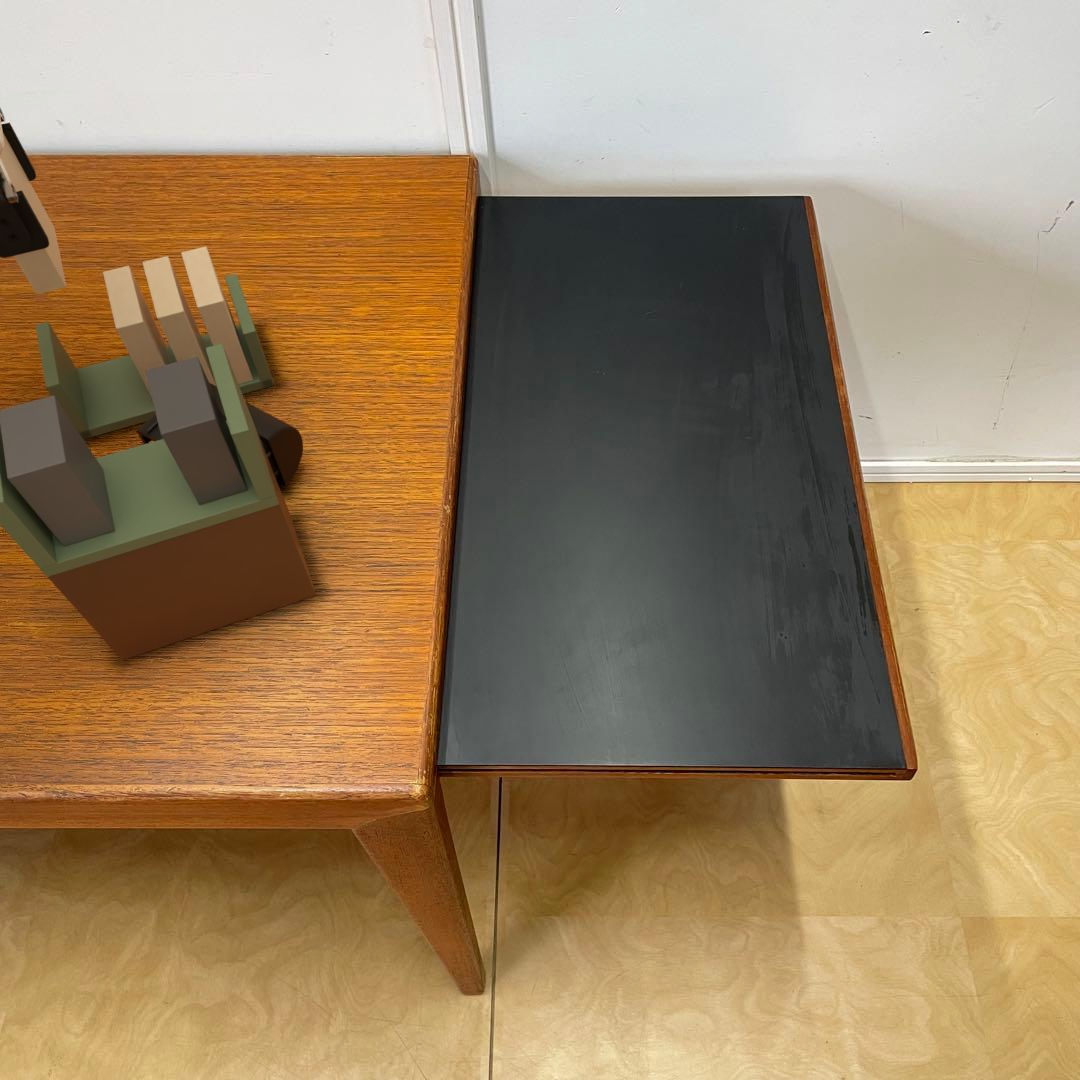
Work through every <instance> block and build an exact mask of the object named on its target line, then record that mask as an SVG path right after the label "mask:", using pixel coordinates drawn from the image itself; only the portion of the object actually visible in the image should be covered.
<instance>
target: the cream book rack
mask: <svg viewBox="0 0 1080 1080" xmlns="http://www.w3.org/2000/svg"><path fill="white" fill-rule="evenodd" d="M180 253H181V257H182V261H183V264H184V267H185V270H186V274H187V277H188V281H189V284H190V288H191V291H192V294H193V298H194V302H195V304H196V308H197V310H198V313H199V316H200V317H201V321H202V322H203V325H204V327H205V330H206V332H207V334H202V333H201V330H200V328H199V326H198V324H197V322H196V319H195V316H194V314H193V312H192V309H191V307H190V305H189V302H188V299H187V298H186V295H185V293H184V290H183V288H182V285H181V283H180V281H179V278H178V276H177V274H176V271H175V269H174V266H173V264H172V262H171V260H170V257H169V256H168V255H166V256H165V255H164V256H161V257H158V258H154V259H150V260H145V261H142V266H143V271H144V274H145V278H146V281H147V285H148V289H149V293H150V297H151V301H152V305H153V309H154V313H155V316H156V319H157V321H158V323H159V325H160V328H161V330H162V332H163V334H164V336H165V339H166V340H167V343H168V344H167V343H166V341H165V339H164V336H163V335H162V332H161V330H160V328H159V326H158V324H157V322H156V320H155V317H154V315H153V313H152V311H151V309H150V307H149V305H148V303H147V301H146V298H145V297H144V294H143V293H142V290H141V288H140V285H139V284H138V281H137V279H136V277H135V275H134V273H133V271H132V269H131V267H130V266H129V265H125V266H121V267H116V268H112V269H109V270H105V271H102V275H103V279H104V283H105V287H106V292H107V297H108V300H109V305H110V310H111V313H112V319H113V321H114V326H115V327H114V328H115V330H116V331H117V334H118V335H119V337H120V339H121V341H122V343H123V345H124V346H125V349H126V351H127V353H128V355H125V356H121V357H117V358H113V359H110V360H106V361H102V362H98V363H95V364H91V365H87V366H84V367H79V368H77V367H76V364H75V363H74V362H73V359H71V356H70V355H69V354H68V352H67V350H66V348H65V347H64V345H63V344H62V342H61V340H60V339H59V337H58V335H57V334H56V332H55V330H54V329H53V327H52V325H51V324H50V322H49V321H45V322H42V323H41V322H40V323H37V324H35V332H36V337H37V342H38V349H39V354H40V361H41V366H42V373H43V379H44V384H45V388H46V390H47V391H48V393H49V395H50V396H55V397H56V399H57V400H58V402H59V403H60V405H61V406H62V408H63V409H64V411H65V412H66V414H67V415H68V417H69V418H70V420H71V421H72V423H73V424H74V426H75V428H76V429H77V431H78V432H79V434H80V435H81V437H82V438H83V440H84V441H85V440H86V439H91V438H94V437H98V436H100V435H104V434H107V433H111V432H115V431H118V430H121V429H126V428H129V427H132V426H136V425H139V424H144V423H146V422H147V421H148V420H149V419H150V418H151V417H152V416H153V415H154V414H155V409H154V405H153V400H152V396H151V392H150V388H149V384H148V380H147V376H146V372H145V371H146V370H149V369H153V368H156V367H160V366H164V365H167V364H171V363H175V362H178V361H182V360H186V359H189V358H193V357H198V358H199V361H200V363H201V365H202V368H203V370H204V372H205V374H206V377H207V379H208V381H209V383H211V384H213V385H215V386H216V382H215V379H214V376H213V372H212V369H211V365H210V362H209V359H208V355H207V352H206V348H207V347H211V346H215V345H218V344H223V347H224V349H225V352H226V354H227V357H228V359H229V362H230V364H231V367H232V369H233V372H234V374H235V377H236V380H237V382H238V385H239V387H240V390H241V392H242V395H245V394H249V393H252V392H255V391H259V390H264V389H266V388H270V387H273V386H275V382H274V379H273V376H272V373H271V370H270V367H269V365H268V361H267V358H266V355H265V353H264V350H263V346H262V344H261V340H260V338H259V334H258V332H257V328H256V325H255V324H254V320H253V318H252V314H251V311H250V309H249V305H248V303H247V300H246V297H245V294H244V291H243V289H242V286H241V283H240V279H239V277H238V274H237V273H233V274H229V275H225V276H224V280H225V283H226V286H227V289H228V292H229V295H230V298H231V301H232V304H233V307H234V311H235V313H236V317H237V319H238V322H239V325H236V322H235V320H234V317H233V314H232V312H231V309H230V306H229V303H228V300H227V298H226V295H225V293H224V290H223V287H222V285H221V282H220V279H219V276H218V273H217V271H216V268H215V266H214V263H213V260H212V257H211V255H210V252H209V250H208V247H207V246H206V245H205V246H202V247H198V248H194V249H190V250H189V249H188V250H186V251H185V250H184V251H182V252H180Z"/></svg>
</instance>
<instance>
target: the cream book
mask: <svg viewBox="0 0 1080 1080" xmlns="http://www.w3.org/2000/svg"><path fill="white" fill-rule="evenodd" d="M3 138H4V149H3V151H2V153H1V154H0V157H1V160H2V162H3V164H4V166H5V168H6V170H7V173H8V175H9V177H10V179H11V181H12V183H13V185H14V188H15V190H16V192H17V191H23V193H24V195H25V197H26V199H27V201H28V202H29V204H30V206H31V208H32V210H33V211H34V213H35V215H36V217H37V219H38V220H39V222H40V224H41V226H42V228H43V229H44V231H45V233H46V235H47V237H48V240H49V246H48V247H47V248H44V249H40V250H36V251H32V252H28V253H24V254H20V255H16V256H13V258H14V259H15V261H16V263H17V264H18V266H19V268H20V269H21V271H22V273H23V275H24V276H25V278H26V280H27V281H28V282H29V283H28V284H30V286H31V287H32V289H33V291H34V292H35V294H36V295H40V294H45V293H48V292H52V291H56V290H60V289H65V288H67V283H66V282H67V281H66V278H65V277H66V276H65V273H64V268H63V263H62V257H61V253H60V247H59V243H58V239H57V233H56V227H55V226H54V224H53V222H52V221H51V218H50V217H49V215H48V213H47V211H46V210H45V208H44V206H43V204H42V202H41V200H40V197H39V196H38V195H37V193H36V191H35V189H34V187H33V185H32V183H31V181H29V180H28V178H27V176H26V174H25V172H24V170H23V168H22V167H21V165H20V163H19V161H18V159H17V157H16V155H15V154H14V152H13V150H12V148H11V146H10V144H9V142H8V141H7V139H6V137H5V135H4V133H3Z"/></svg>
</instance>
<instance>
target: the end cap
mask: <svg viewBox="0 0 1080 1080" xmlns="http://www.w3.org/2000/svg"><path fill="white" fill-rule="evenodd" d="M209 384H210V386H211V388H212V391H213V393H214V395H215V397H216V400H217V402H218V404H219V407H220V409H221V411H222V413H223V416H224V418H225V420H226V416H225V413H224V409H223V406H222V403H221V399H220V396H219V392H218V389H217V386H215V385H213V384H211V383H209ZM245 402H246V405H247V407H248V410H249V412H250V415H251V417H252V420H253V422H254V425H255V428H256V430H257V433H258V435H259V438H260V440H261V443H262V445H263V448H264V450H265V453H266V455H267V458H268V460H269V463H270V465H271V468H272V470H273V473H274V475H275V478H276V480H277V483H278V486H279V488H280V491H281V492H282V491H283V490H284V489H285V487H287V486H288V484H289V483H290V482H291V480H293V478H294V476H295V474H296V473H297V471H298V468H299V466H300V463H301V460H302V457H303V451H304V441H303V436H302V435H301V433H300V431H299V430H298V429H297V428H296V427H295V426H293V425H291V424H289V423H287V422H286V421H283V420H281V419H280V418H278V417H275V416H274V415H271V414H270V413H269V412H266V411H265V410H262V409H260V408H259V407H257V406H256V405H255V406H254V405H253V404H251V403H249V402H247V401H245ZM226 421H227V420H226ZM136 433H137V435H138V437H139V439H140V440H141V442H142V443H143V445H144V444H147V443H151V442H154V441H158V440H161V439H163V437H162V436H161V433H160V429H159V425H158V421H157V417H156V413H155V414H154V415H153V416H152V417H151V418H150V419H149V420H148V421H147V422H144V423H143V424H142V425H141V426H140V427H139V428H138V429H137V430H136Z"/></svg>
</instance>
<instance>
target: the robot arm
mask: <svg viewBox="0 0 1080 1080" xmlns="http://www.w3.org/2000/svg"><path fill="white" fill-rule="evenodd" d="M3 122H4V123H3ZM5 122H6V117H5V115H4V112H3V110H2V108H1V107H0V154H1V153H2V151H3V149H4V138H3V133H4V135H5V137H6V139H7V141H8V142H9V144H10V146H11V148H12V150H13V152H14V154H15V155H16V157H17V159H18V161H19V163H20V165H21V167H22V168H23V170H24V172H25V174H26V176H27V178H28V180H29V181H30V182H32V181H34V180H36V178H37V172H36V170H35V167H34V166H33V164H32V162H31V160H30V158H29V156H28V154H27V152H26V151H25V149H24V147H23V144H22V143H21V141H20V139H19V137H18V135H17V133H16V132H15V130H14V127H13V126H12V124H11V122H6V123H5ZM48 246H49V240H48V237H47V235H46V233H45V231H44V229H43V228H42V226H41V224H40V222H39V220H38V219H37V217H36V215H35V213H34V211H33V210H32V208H31V206H30V204H29V202H28V201H27V199H26V197H25V195H24V193H23V191H17V192H16V190H15V188H14V185H13V183H12V181H11V179H10V177H9V175H8V173H7V170H6V168H5V166H4V164H3V162H2V160H1V157H0V258H2V259H6V258H11V257H14V256H16V255H20V254H24V253H28V252H32V251H36V250H40V249H44V248H47V247H48Z"/></svg>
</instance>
